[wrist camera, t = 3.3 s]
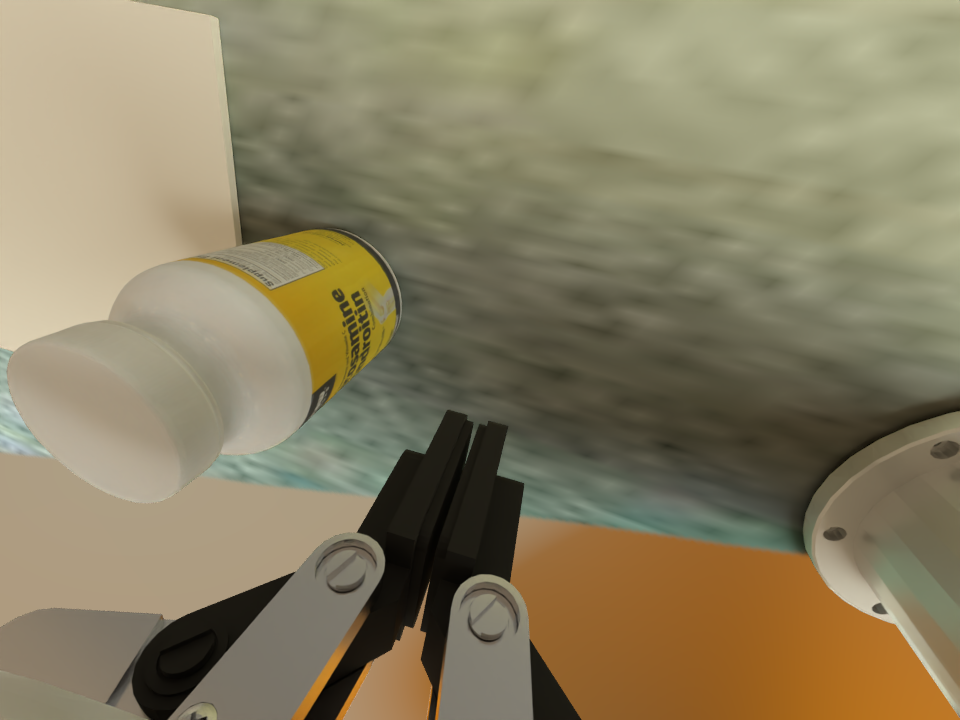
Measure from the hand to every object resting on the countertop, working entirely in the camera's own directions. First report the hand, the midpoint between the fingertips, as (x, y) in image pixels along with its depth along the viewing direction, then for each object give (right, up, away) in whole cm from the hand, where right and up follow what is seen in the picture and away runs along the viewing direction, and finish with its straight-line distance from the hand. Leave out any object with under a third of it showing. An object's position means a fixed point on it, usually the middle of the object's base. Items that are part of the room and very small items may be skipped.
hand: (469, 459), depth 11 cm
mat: (-23, +11, +11) cm, 28 cm away
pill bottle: (-6, +6, +9) cm, 13 cm away
